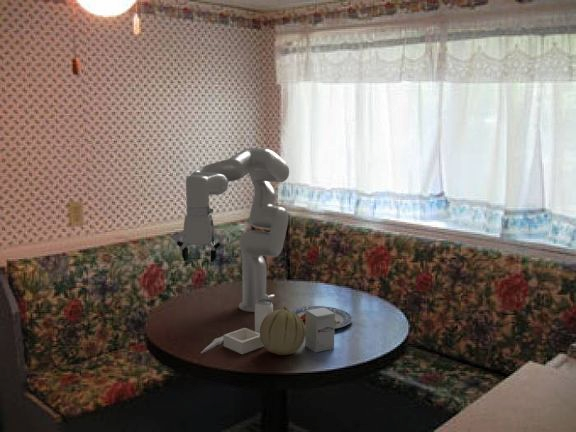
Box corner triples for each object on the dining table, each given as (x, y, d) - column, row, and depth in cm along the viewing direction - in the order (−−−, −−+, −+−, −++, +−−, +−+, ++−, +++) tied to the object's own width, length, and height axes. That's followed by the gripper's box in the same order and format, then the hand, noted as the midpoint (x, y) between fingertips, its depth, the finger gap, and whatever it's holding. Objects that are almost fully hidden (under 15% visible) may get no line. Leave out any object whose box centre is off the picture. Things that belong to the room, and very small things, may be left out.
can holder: (245, 338, 201) (245, 327, 200) (263, 346, 194) (263, 335, 193) (223, 346, 194) (223, 334, 193) (242, 354, 187) (242, 342, 186)
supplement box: (315, 353, 188) (316, 316, 186) (304, 345, 195) (304, 309, 193) (334, 349, 192) (335, 313, 190) (323, 341, 198) (323, 306, 196)
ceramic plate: (269, 322, 217) (269, 315, 217) (313, 306, 236) (313, 299, 235) (322, 340, 200) (322, 332, 199) (365, 322, 218) (365, 314, 218)
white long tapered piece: (223, 337, 201) (222, 332, 201) (229, 339, 200) (229, 334, 200) (197, 355, 188) (197, 349, 188) (203, 356, 187) (203, 351, 187)
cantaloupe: (259, 363, 181) (259, 317, 178) (259, 344, 195) (259, 302, 193) (306, 362, 181) (307, 316, 179) (303, 344, 196) (303, 301, 193)
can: (270, 338, 201) (270, 305, 199) (252, 336, 203) (252, 303, 201) (274, 331, 208) (274, 299, 206) (257, 330, 209) (257, 298, 207)
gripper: (225, 210, 198) (226, 258, 201) (177, 209, 201) (179, 256, 204) (219, 214, 191) (220, 264, 194) (169, 212, 193) (171, 262, 196)
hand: (199, 260), depth 199 cm, fingers open, 9 cm apart
